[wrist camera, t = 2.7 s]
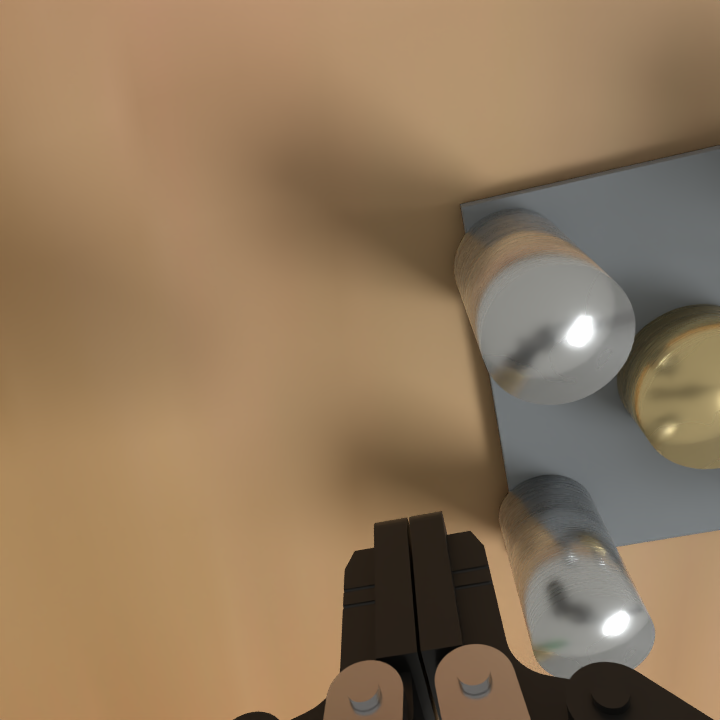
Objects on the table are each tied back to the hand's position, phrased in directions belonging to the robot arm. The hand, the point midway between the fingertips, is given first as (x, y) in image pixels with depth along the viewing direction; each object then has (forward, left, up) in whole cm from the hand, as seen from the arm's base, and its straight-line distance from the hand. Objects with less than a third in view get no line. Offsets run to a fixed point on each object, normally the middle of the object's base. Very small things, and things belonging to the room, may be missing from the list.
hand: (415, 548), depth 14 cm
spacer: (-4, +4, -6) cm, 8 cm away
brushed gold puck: (-8, 0, -6) cm, 10 cm away
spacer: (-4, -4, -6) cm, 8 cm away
